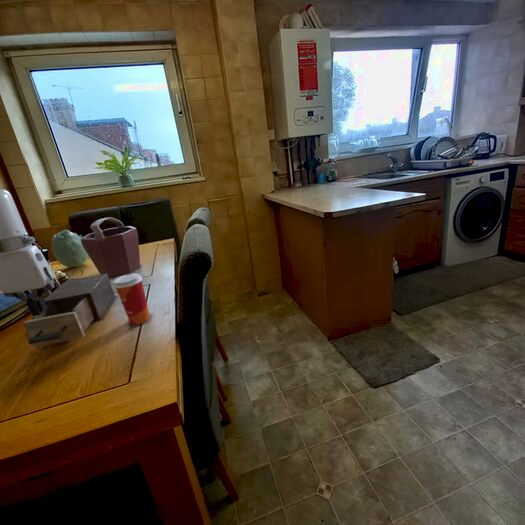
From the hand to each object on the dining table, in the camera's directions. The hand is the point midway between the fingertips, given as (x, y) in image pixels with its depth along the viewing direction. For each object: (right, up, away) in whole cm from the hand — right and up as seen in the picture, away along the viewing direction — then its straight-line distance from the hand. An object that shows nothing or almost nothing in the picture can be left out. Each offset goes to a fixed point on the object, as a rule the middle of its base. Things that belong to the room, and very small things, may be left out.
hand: (39, 313), depth 71 cm
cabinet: (-3, -4, +23) cm, 24 cm away
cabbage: (-42, +11, +77) cm, 88 cm away
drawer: (0, -7, +10) cm, 12 cm away
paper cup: (+20, -5, +13) cm, 24 cm away
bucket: (-11, +9, +61) cm, 63 cm away
